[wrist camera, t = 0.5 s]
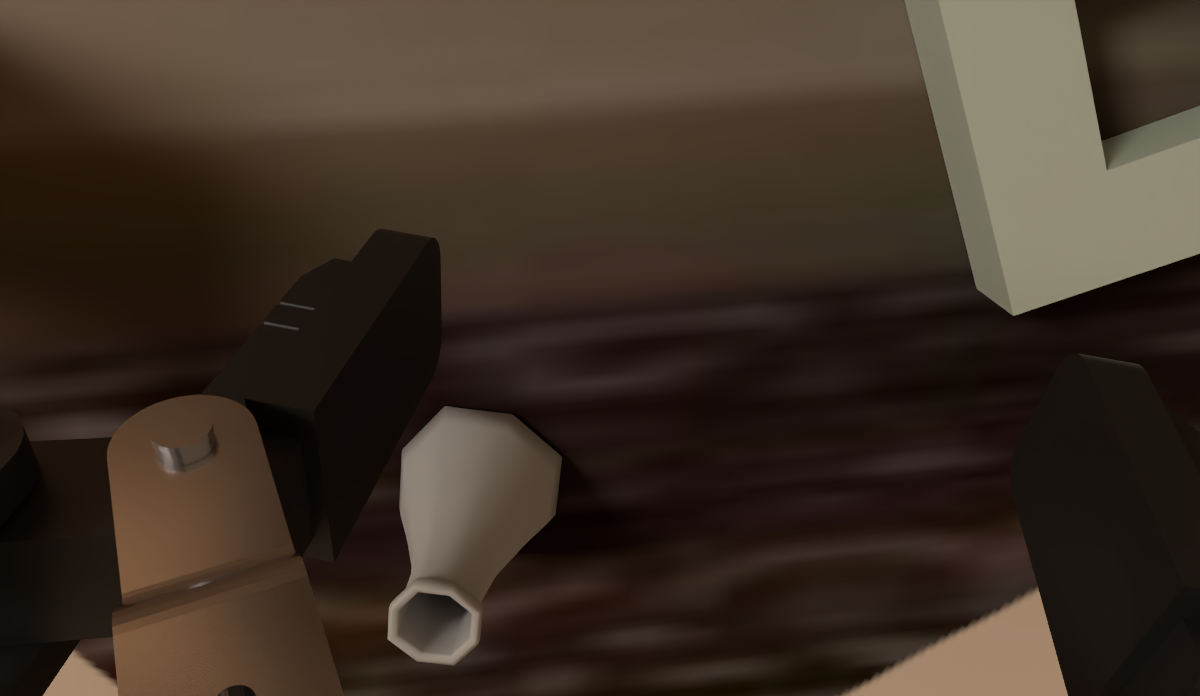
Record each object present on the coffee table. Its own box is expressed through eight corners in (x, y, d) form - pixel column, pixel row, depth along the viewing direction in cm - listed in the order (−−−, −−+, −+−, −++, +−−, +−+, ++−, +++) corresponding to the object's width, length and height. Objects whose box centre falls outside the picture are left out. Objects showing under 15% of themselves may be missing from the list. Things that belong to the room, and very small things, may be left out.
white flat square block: (885, -76, 30) (917, -88, 27) (1310, -250, 28) (1400, -286, 25) (976, 288, 35) (1013, 315, 31) (1350, 160, 33) (1431, 175, 29)
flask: (590, 445, 38) (579, 585, 28) (523, 573, 40) (492, 742, 31) (434, 377, 37) (368, 497, 27) (374, 512, 39) (295, 666, 30)
